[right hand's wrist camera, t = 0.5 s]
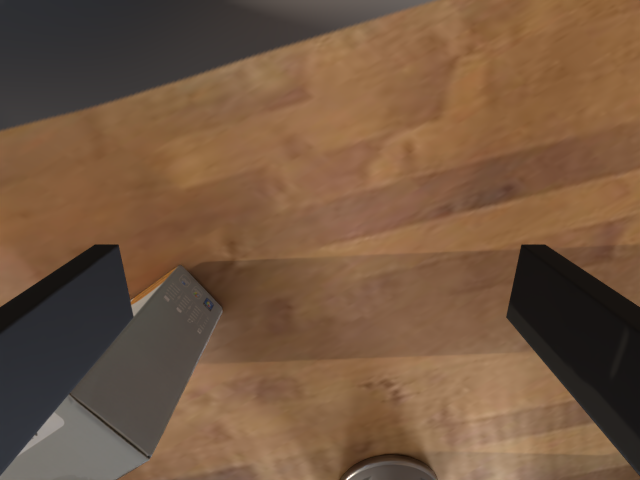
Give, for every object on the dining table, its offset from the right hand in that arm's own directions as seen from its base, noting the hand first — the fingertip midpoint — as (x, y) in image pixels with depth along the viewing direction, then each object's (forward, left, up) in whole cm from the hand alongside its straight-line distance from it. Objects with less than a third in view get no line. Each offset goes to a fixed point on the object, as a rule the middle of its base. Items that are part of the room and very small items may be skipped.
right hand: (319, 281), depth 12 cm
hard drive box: (-20, +19, -28) cm, 39 cm away
